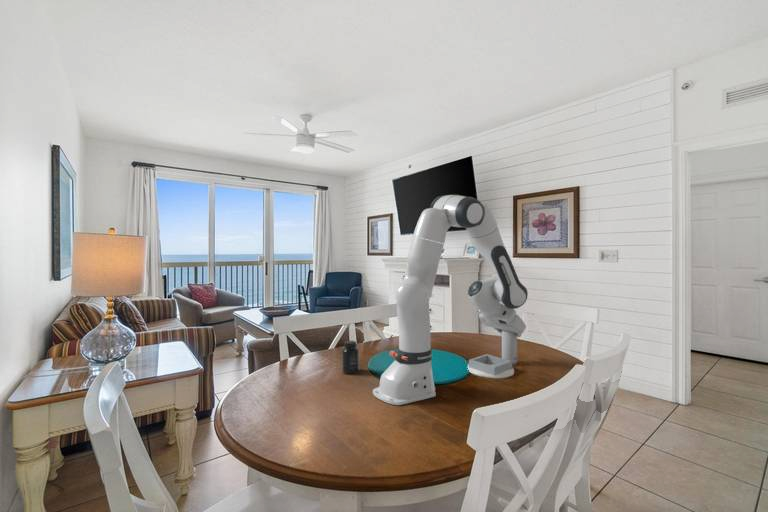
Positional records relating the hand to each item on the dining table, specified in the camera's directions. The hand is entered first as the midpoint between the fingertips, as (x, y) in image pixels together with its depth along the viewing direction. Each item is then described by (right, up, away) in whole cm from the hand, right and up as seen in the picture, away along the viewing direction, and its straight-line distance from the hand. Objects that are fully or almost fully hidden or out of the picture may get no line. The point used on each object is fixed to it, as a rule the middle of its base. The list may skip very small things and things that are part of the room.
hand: (510, 333), depth 152 cm
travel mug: (0, -13, 0) cm, 13 cm away
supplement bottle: (-67, -14, -9) cm, 69 cm away
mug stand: (-11, -13, -9) cm, 19 cm away
